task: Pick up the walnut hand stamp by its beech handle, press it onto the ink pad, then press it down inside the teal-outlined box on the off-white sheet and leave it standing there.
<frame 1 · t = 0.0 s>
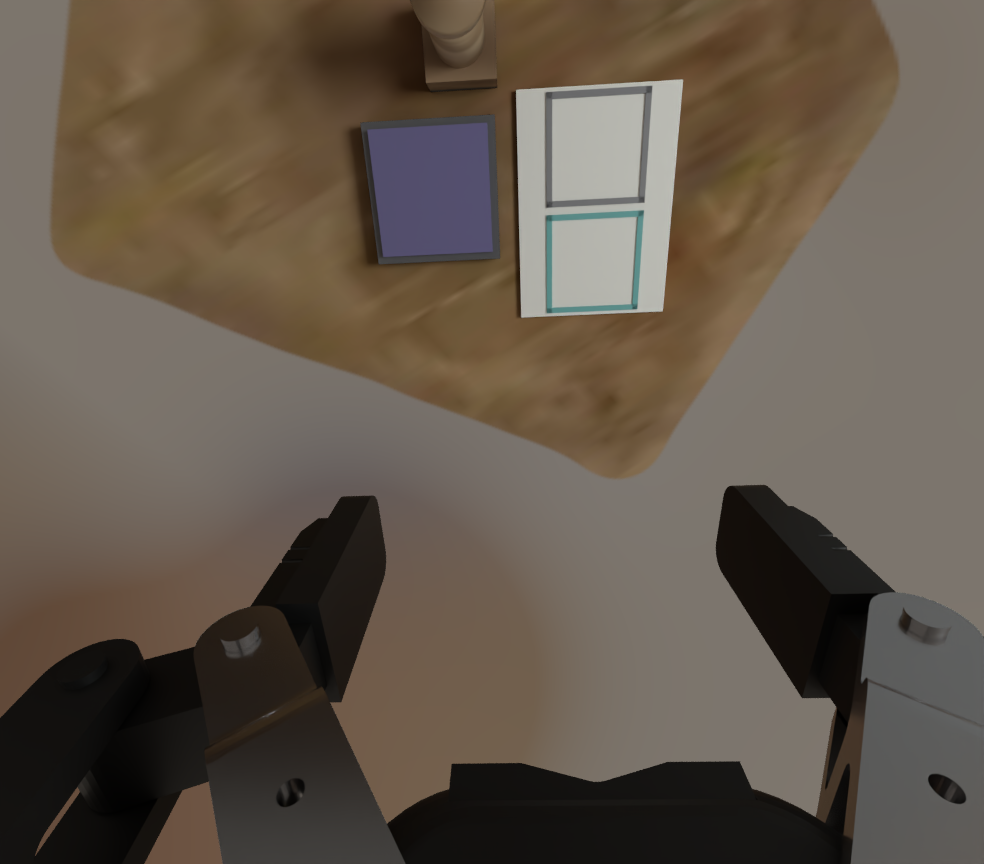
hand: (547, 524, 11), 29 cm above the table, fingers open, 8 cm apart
stamp: (461, 49, 32), on the table
sheet: (594, 209, 35), on the table
ink pad: (435, 194, 35), on the table
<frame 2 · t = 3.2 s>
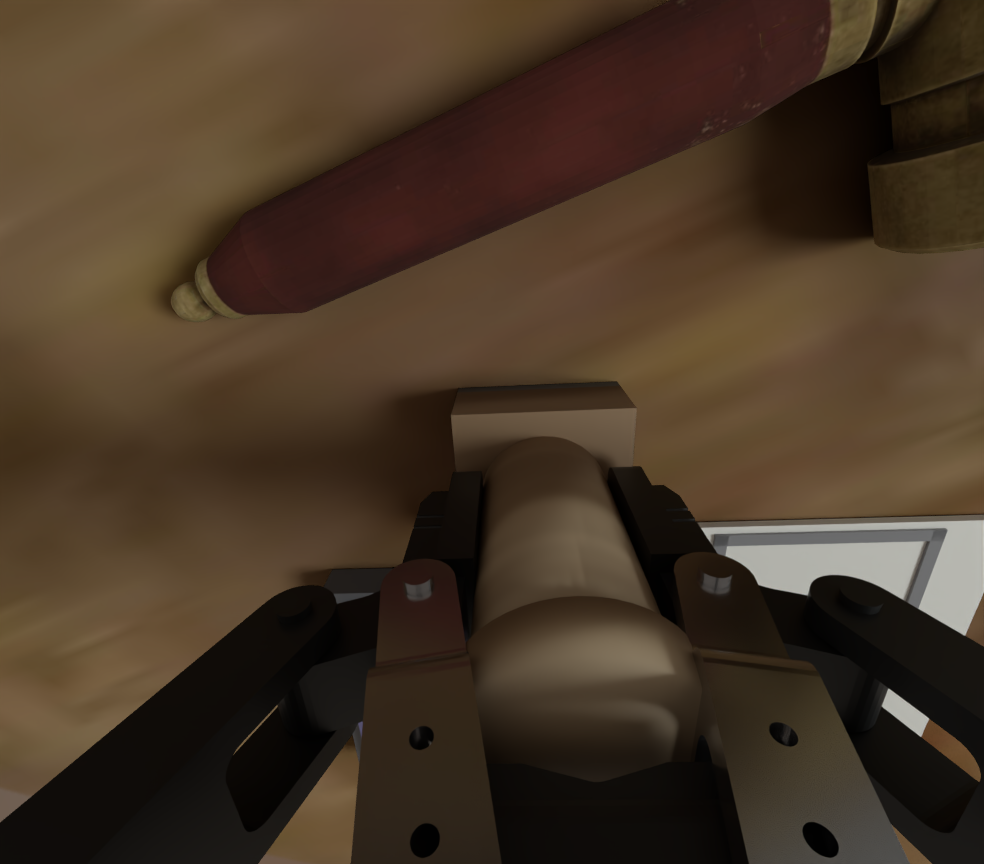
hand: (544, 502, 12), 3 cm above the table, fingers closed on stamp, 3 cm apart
stamp: (538, 456, 15), on the table, touching gripper
sheet: (780, 689, 18), on the table
gavel: (556, 146, 12), on the table
ink pad: (472, 664, 18), on the table
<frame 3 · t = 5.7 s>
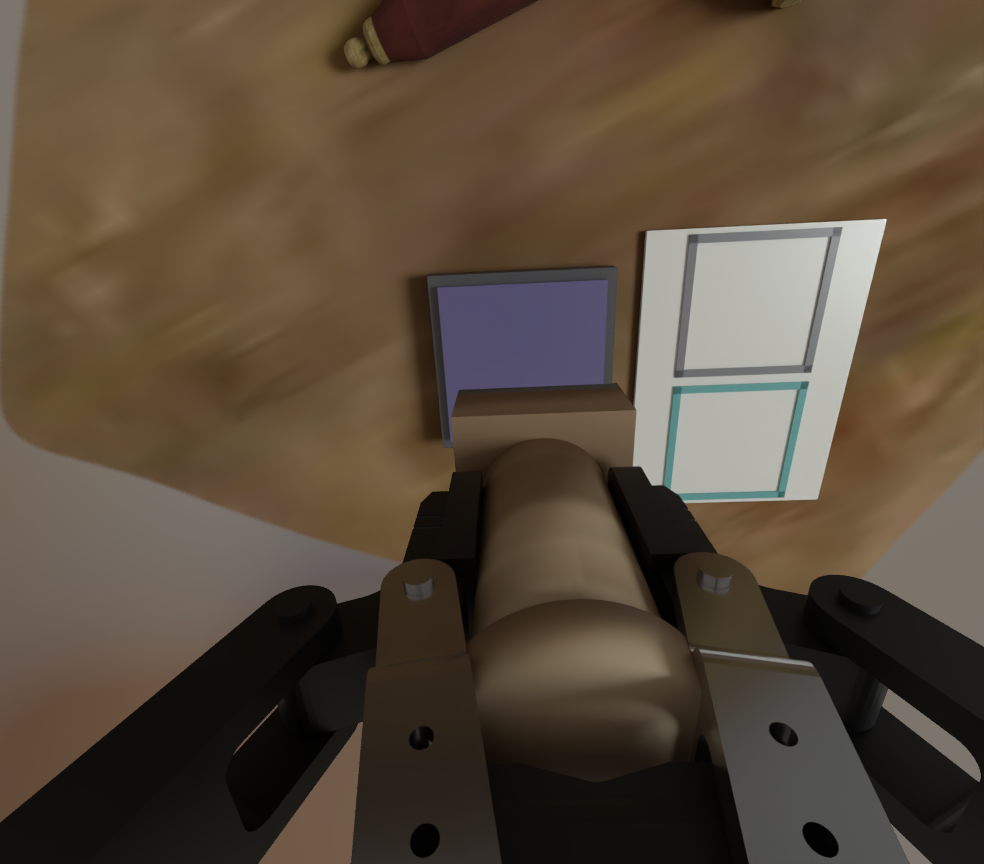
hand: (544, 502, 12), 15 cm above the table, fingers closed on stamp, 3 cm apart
stamp: (538, 457, 15), point 12 cm above the table, touching gripper
sheet: (738, 377, 26), on the table
ink pad: (522, 358, 26), on the table
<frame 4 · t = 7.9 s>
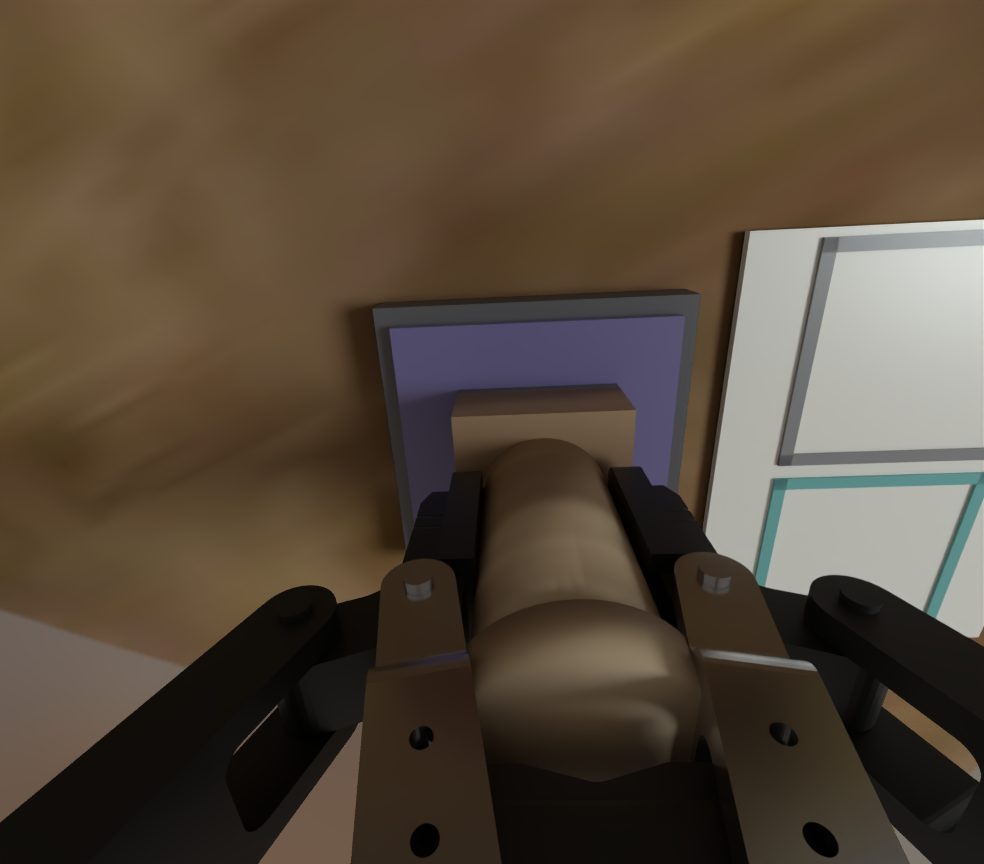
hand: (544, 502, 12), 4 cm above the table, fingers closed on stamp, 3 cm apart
stamp: (538, 457, 15), point 2 cm above the table, touching gripper, ink pad
sheet: (877, 464, 16), on the table
ink pad: (533, 434, 16), on the table
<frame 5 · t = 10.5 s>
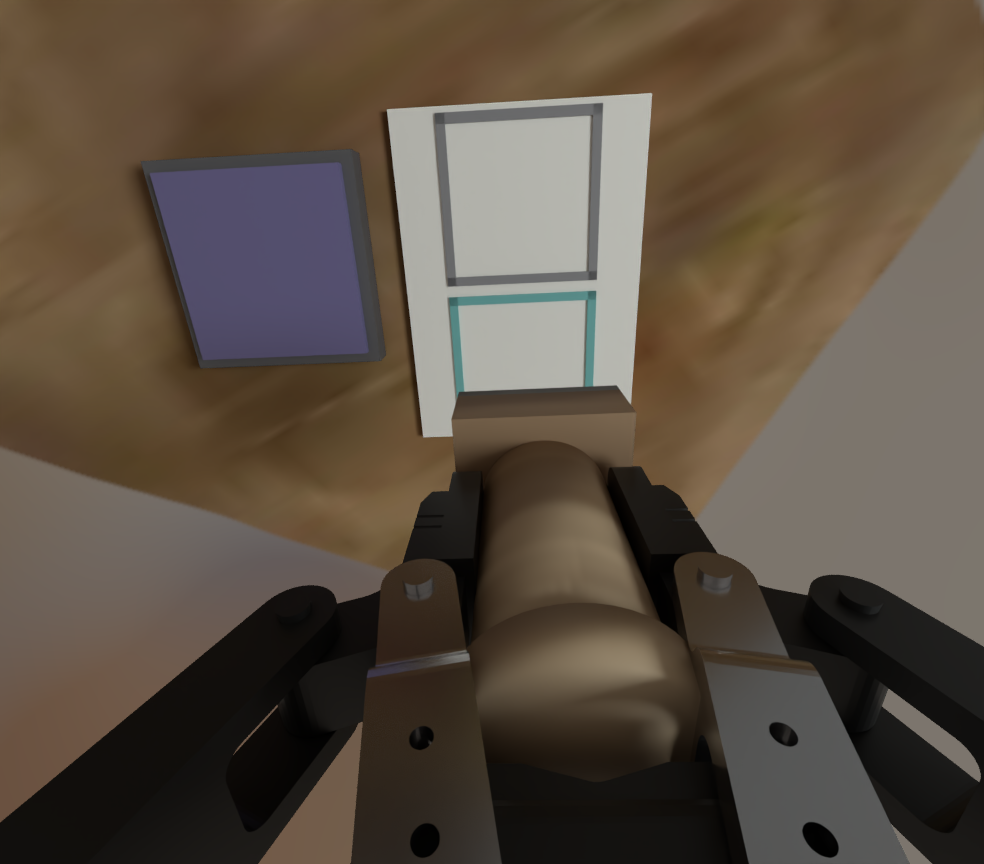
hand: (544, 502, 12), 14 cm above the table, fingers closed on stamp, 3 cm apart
stamp: (538, 459, 15), point 11 cm above the table, touching gripper
sheet: (521, 287, 23), on the table
ink pad: (280, 266, 23), on the table
when the fingers open (3 cm above the table, at t = 12.6 s): stamp stays where it is, resting on sheet.
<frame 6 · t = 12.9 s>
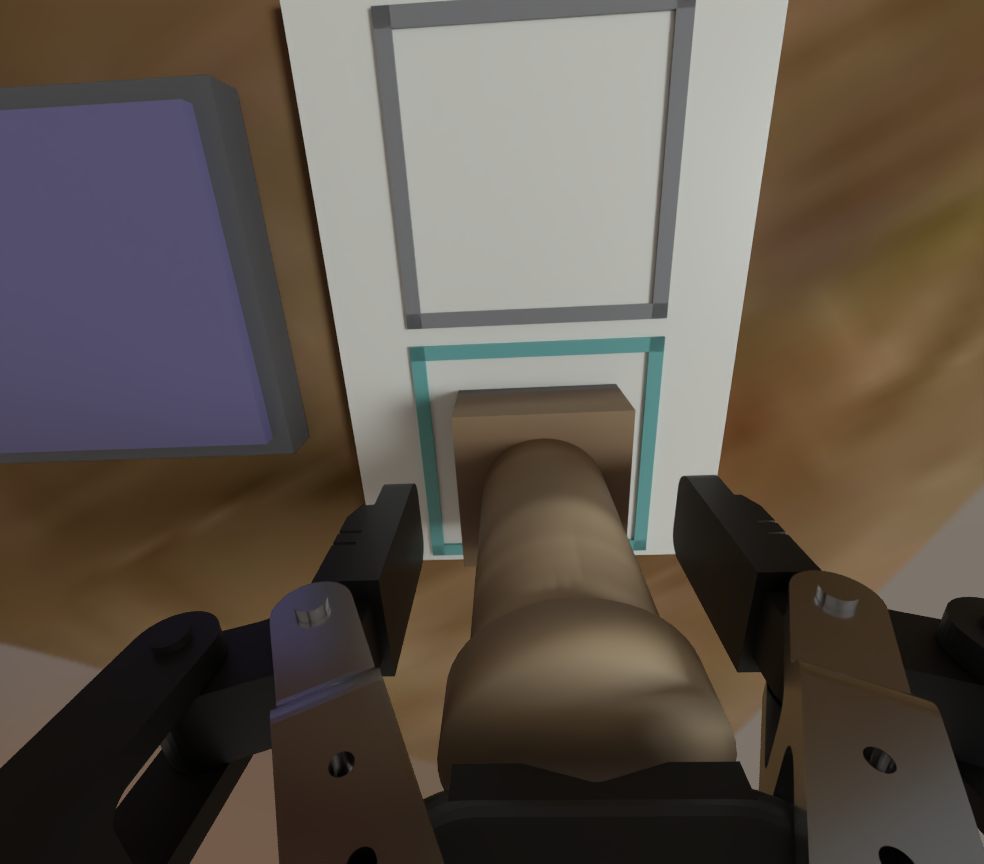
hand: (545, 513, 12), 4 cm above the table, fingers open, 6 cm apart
stamp: (537, 457, 15), resting on sheet
sheet: (535, 330, 14), on the table
ink pad: (118, 293, 13), on the table
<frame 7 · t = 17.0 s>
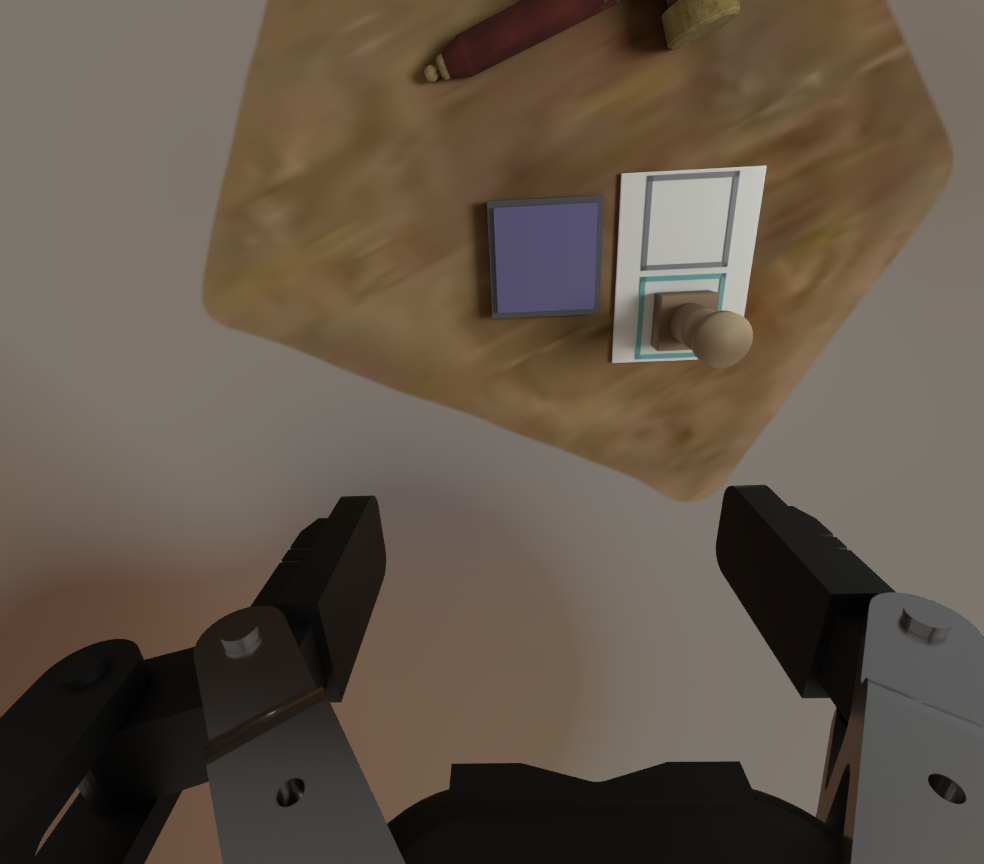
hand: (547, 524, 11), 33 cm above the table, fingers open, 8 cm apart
stamp: (679, 318, 41), resting on sheet
sheet: (682, 271, 40), on the table
gavel: (560, 16, 34), on the table
ink pad: (544, 259, 40), on the table
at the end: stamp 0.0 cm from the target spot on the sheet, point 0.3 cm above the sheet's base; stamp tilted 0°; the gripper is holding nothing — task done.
